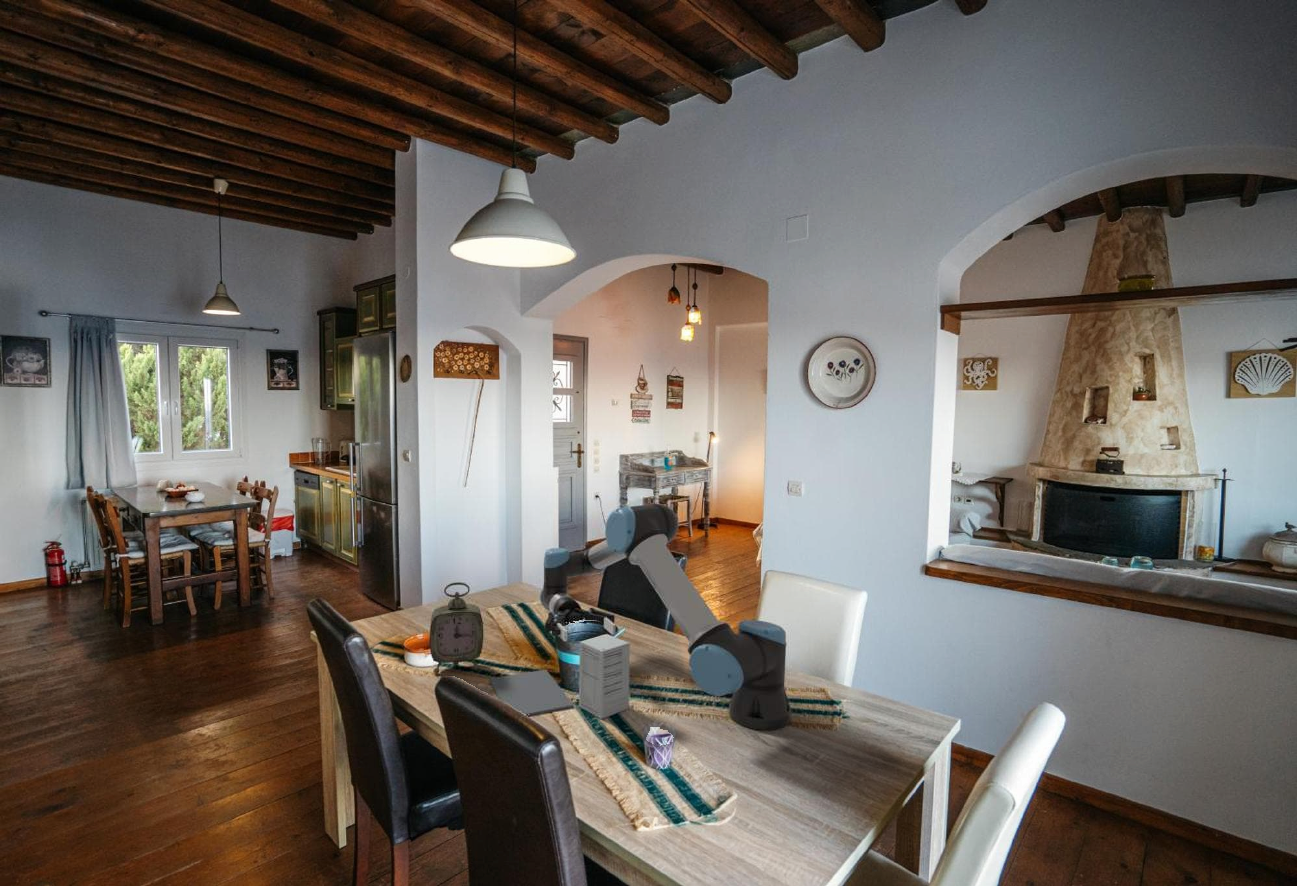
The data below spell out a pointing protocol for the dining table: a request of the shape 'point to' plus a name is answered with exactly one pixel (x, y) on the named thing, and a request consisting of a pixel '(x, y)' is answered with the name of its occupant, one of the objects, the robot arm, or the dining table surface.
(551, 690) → the mat
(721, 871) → the dining table surface
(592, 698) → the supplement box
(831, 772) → the dining table surface
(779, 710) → the robot arm
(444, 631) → the tabletop clock
